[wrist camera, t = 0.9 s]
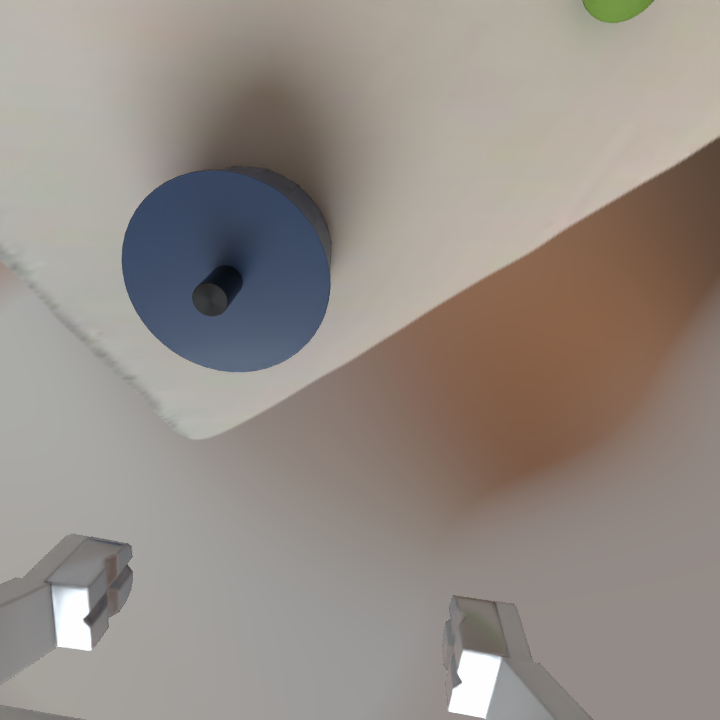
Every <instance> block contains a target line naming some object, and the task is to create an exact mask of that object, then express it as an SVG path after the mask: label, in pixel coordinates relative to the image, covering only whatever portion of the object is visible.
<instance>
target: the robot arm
mask: <svg viewBox="0 0 720 720" xmlns="http://www.w3.org/2000/svg"><path fill="white" fill-rule="evenodd" d="M131 558H132V546H131V545H129V544H128V543H123V542H117V541H111V540H106V539H100V538H95V537H87V536H82V535H76V534H70V535H68V536H66V537H64V538H63V540H61V541H60V542H59V543H58V544H57V545H56V546H55V547H54V548H53V549H52V550H51V551H50V552H49V553H48V554H47V555H46V556H45V557H44V558H43V559H42V560H41V561H40V562H38V564H36V565H35V566H34V567H33V568H32V569H31V570H30V571H29V572H28V573H27V574H26V575H25V576H24V577H23V578H14V579H11V580H9V581H7V582H4V583H2V584H0V685H2V684H3V683H5V682H6V681H8V680H9V679H11V678H12V677H14V676H15V675H17V674H18V673H20V672H21V671H23V670H24V669H25V668H27V667H29V666H30V665H31V664H33V663H34V662H36V661H37V660H39V659H40V658H41V657H43V656H45V655H46V654H48V653H49V652H51V651H52V650H54V649H55V648H56V646H59V647H66V648H74V649H81V650H89V651H92V650H93V649H94V647H95V646H96V644H97V643H98V642H99V640H100V639H101V637H102V636H103V634H104V633H105V632H106V630H107V629H108V627H109V623H108V618H109V617H111V616H113V615H115V614H116V613H118V612H120V610H121V608H122V607H123V606H124V604H125V603H126V601H127V598H128V596H129V593H130V591H131V587H132V581H133V571H132V570H131V569H130V567H129V566H128V565H127V563H128V562H129V561H130V559H131ZM449 612H450V619H449V620H448V621H446V623H445V629H444V635H443V665H444V667H445V668H446V669H447V671H448V673H447V677H446V682H445V686H446V695H447V705H448V711H451V712H456V713H461V714H466V715H471V716H477V717H481V718H486V719H485V720H593V719H592V718H591V717H590V716H589V715H588V714H587V712H585V710H584V709H583V708H582V707H581V706H580V705H579V704H578V703H577V702H576V701H575V700H574V699H573V698H572V697H571V696H570V695H569V694H568V693H567V692H566V690H565V689H564V688H563V687H562V686H561V685H560V684H559V683H558V682H557V681H556V680H555V679H554V678H553V677H552V676H551V675H550V673H549V672H548V671H547V670H546V669H545V668H544V667H543V666H542V665H541V664H540V663H536V662H533V659H532V656H531V652H530V649H529V646H528V643H527V639H526V636H525V633H524V630H523V627H522V623H521V620H520V616H519V613H518V610H517V607H516V606H515V605H514V604H512V603H505V602H498V601H489V600H482V599H476V598H469V597H462V596H456V595H453V596H452V598H451V602H450V606H449ZM0 720H85V719H79V718H73V717H67V716H61V715H56V714H50V713H44V712H38V711H33V710H27V709H21V708H15V707H10V706H4V705H0Z"/></svg>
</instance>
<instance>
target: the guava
mask: <svg viewBox="0 0 720 720" xmlns="http://www.w3.org/2000/svg"><path fill="white" fill-rule="evenodd" d="M582 1H583V4H584V6H585V8H586V9H587V11H588V12H589V13H590V14H591V15H592V16H593V17H595V18H596V19H598V20H600V21H603V22H608V23H617V22H622V21H626V20H629V19H631V18H633V17H635V16H637V15H638V14H640V13H641V12H642V11H644V10H645V9H646V8H647V7H648V6H649V5H650V4H651V3H652V2H653V1H654V0H582Z"/></svg>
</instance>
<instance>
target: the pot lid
mask: <svg viewBox="0 0 720 720" xmlns="http://www.w3.org/2000/svg"><path fill="white" fill-rule="evenodd" d="M122 269H123V276H124V281H125V286H126V289H127V292H128V295H129V298H130V300H131V302H132V304H133V306H134V308H135V310H136V312H137V314H138V315H139V317H140V318H141V320H142V321H143V323H144V324H145V325H146V326H147V328H148V329H149V330H150V331H151V333H152V334H153V335H154V336H155V337H156V338H157V339H159V340H160V341H161V342H162V343H163V344H164V345H165V346H167V347H168V348H169V349H171V350H172V351H173V352H175V353H177V354H178V355H180V356H181V357H183V358H185V359H187V360H189V361H191V362H193V363H196V364H198V365H201V366H204V367H207V368H211V369H215V370H220V371H228V372H249V371H257V370H261V369H266V368H269V367H272V366H274V365H277V364H279V363H281V362H283V361H285V360H287V359H289V358H290V357H292V356H293V355H295V354H296V353H297V352H299V351H300V350H301V349H302V348H303V347H304V346H305V345H306V344H307V343H308V342H309V341H310V340H311V338H312V337H313V336H314V335H315V333H316V331H317V330H318V328H319V326H320V325H321V322H322V320H323V318H324V315H325V313H326V309H327V305H328V301H329V295H330V269H329V262H328V258H327V255H326V251H325V248H324V245H323V243H322V241H321V238H320V236H319V234H318V232H317V230H316V229H315V227H314V225H313V224H312V222H311V221H310V219H309V218H308V217H307V216H306V214H305V213H304V212H303V210H302V209H301V208H300V207H299V206H298V205H297V204H296V203H295V202H294V201H293V200H292V199H290V198H289V197H288V196H287V195H285V194H284V193H283V192H281V191H280V190H279V189H277V188H275V187H274V186H272V185H270V184H269V183H267V182H265V181H262V180H260V179H258V178H255V177H253V176H250V175H246V174H243V173H240V172H234V171H227V170H203V171H195V172H191V173H188V174H184V175H181V176H178V177H176V178H173V179H171V180H169V181H167V182H165V183H164V184H162V185H161V186H159V187H158V188H156V189H155V190H154V191H152V192H151V193H150V194H149V195H148V196H147V197H146V198H145V199H144V200H143V201H142V203H141V204H140V205H139V207H138V208H137V209H136V211H135V213H134V214H133V216H132V218H131V220H130V222H129V225H128V227H127V230H126V233H125V237H124V242H123V248H122Z"/></svg>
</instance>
